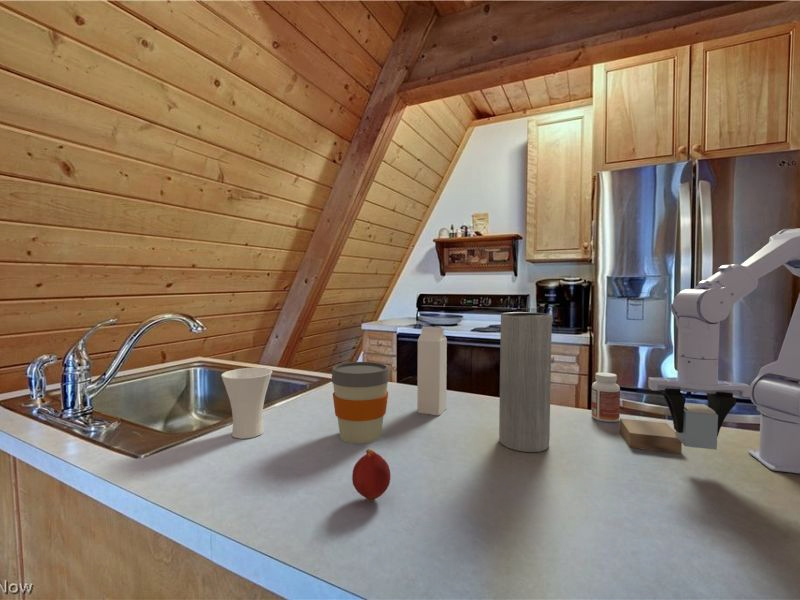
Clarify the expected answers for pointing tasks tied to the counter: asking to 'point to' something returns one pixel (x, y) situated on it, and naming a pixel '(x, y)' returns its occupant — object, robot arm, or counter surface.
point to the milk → (432, 371)
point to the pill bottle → (605, 397)
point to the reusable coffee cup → (360, 399)
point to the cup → (247, 399)
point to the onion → (371, 475)
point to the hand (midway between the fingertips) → (695, 432)
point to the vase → (525, 381)
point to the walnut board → (650, 435)
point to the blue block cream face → (699, 427)
